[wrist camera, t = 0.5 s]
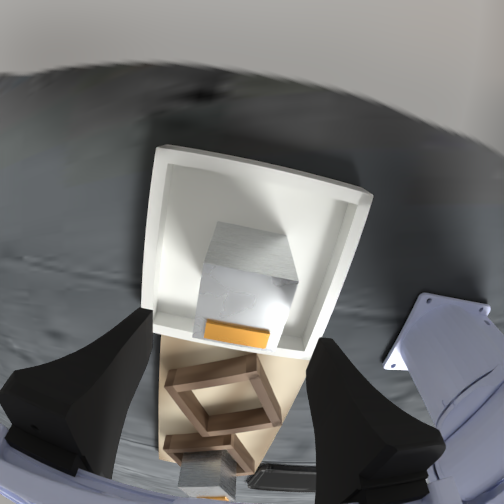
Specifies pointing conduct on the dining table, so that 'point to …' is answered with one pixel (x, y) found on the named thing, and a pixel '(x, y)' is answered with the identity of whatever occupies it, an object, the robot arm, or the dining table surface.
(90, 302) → the dining table surface
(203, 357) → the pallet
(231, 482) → the seated billet
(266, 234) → the loose billet
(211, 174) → the white square tray
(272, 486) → the phone
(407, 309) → the dining table surface
